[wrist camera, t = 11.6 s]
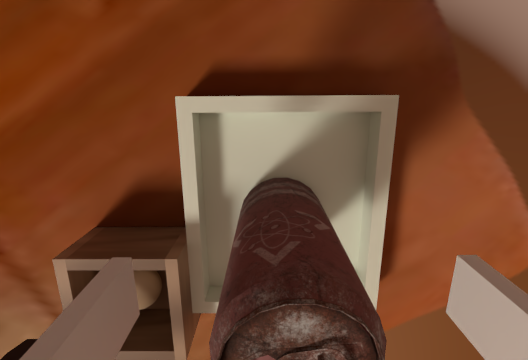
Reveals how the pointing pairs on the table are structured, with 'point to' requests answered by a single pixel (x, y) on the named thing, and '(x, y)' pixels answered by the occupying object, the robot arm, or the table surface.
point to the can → (292, 285)
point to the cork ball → (147, 287)
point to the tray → (284, 172)
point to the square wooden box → (143, 258)
